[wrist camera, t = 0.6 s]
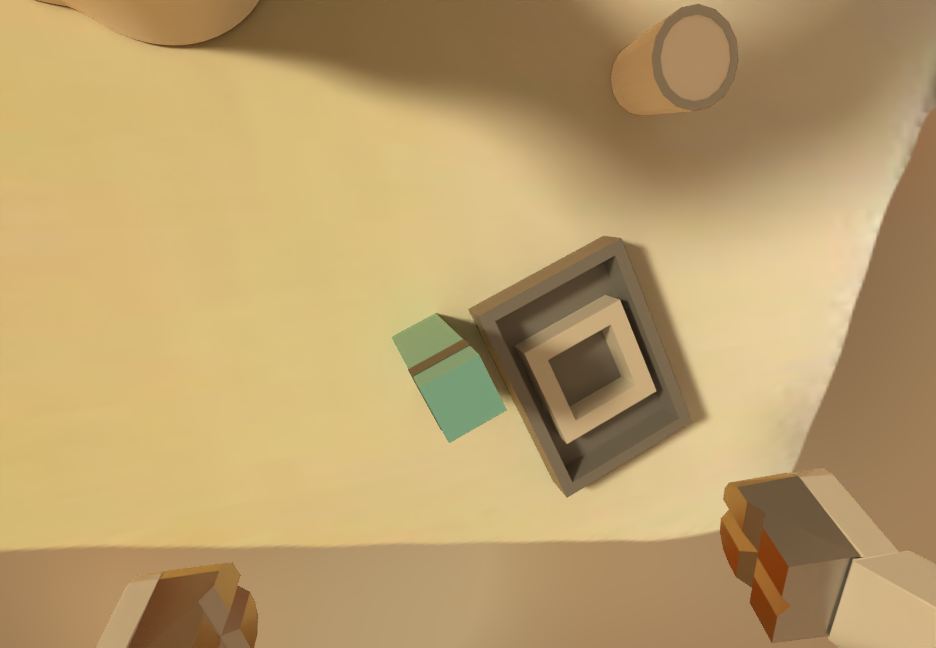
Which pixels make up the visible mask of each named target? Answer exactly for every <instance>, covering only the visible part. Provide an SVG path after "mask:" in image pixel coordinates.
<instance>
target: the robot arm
mask: <svg viewBox="0 0 936 648" xmlns="http://www.w3.org/2000/svg"><path fill="white" fill-rule="evenodd" d="M38 1H42V2H47V3H52V4H57V5H63V6H69V7H71V8H73V9H76V10H78V11H80V12H81V13H83V14H85V15H87V16H88V17H90V18H92V19H93V20H95V21H97V22H98V23H100V24H102V25H104V26H105V27H107V28H109V29H111V30H113V31H115V32H117V33H120V34H122V35H124V36H127V37H130V38H133V39H136V40H139V41H143V42H148V43H153V44H160V45H187V44H194V43H199V42H203V41H206V40H209V39H212V38H215V37H217V36H219V35H221V34H223V33H225V32H227V31H229V30H230V29H232V28H233V27H235V26H236V25H237V24H239V23H240V22H241V21H242V20H243V19H244V18H245V17H246V16H247V15H248V14H249V13H250V12H251V11H252V10H253V9H254V7H255V6H256V5H257V3H258V2H259V0H38ZM723 500H724V501H725V503H726V505H727V506H728V508H729V510H728V511H727V512H726V514H725V515H724V516H723V517H722V518H721V526H720V535H721V540H722V545H723V550H724V552H725V555H726V557H727V560H728V563H729V565H730V567H731V568H732V570H733V572H734V574H735V576H736V577H737V578H738V579H740V580H741V581H743V582H745V583H746V584H747V585H749V586H750V587H752V591H751V598H750V604H751V606H752V608H753V610H754V611H755V613H756V615H757V617H758V619H759V621H760V622H761V624H762V626H763V628H764V630H765V631H766V633H767V635H768V637H769V639H770V641H771V642H772V643H777V642H785V641H792V640H800V639H809V638H817V637H824V636H829V638H828V639H829V640H830V641H831V642H832V643H834V644H835V645H836V646H838V647H839V648H936V564H935V563H933V562H931V561H929V560H927V559H925V558H923V557H921V556H919V555H918V554H916V553H913V552H912V551H902V552H899V550H898V549H897V548H896V547H895V546H894V545H893V543H891V541H890V540H889V539H888V538H887V536H886V535H885V534H884V533H883V532H882V531H881V530H880V528H879V527H878V526H877V525H876V524H875V523H874V522H873V520H872V519H871V518H870V517H869V516H868V515H867V513H866V512H865V511H864V510H863V509H862V508H861V507H860V505H858V503H857V502H856V501H855V500H854V499H853V497H852V496H851V495H850V494H849V493H848V492H847V490H846V489H845V488H844V487H843V486H842V485H841V484H840V482H839V481H838V480H837V479H836V478H835V477H834V476H833V474H832V473H831V472H829V471H828V470H826V469H824V468H818V469H812V470H805V471H799V472H793V473H783V474H777V475H771V476H765V477H760V478H754V479H748V480H742V481H736V482H730V483H728V485H727V486H726V487H725V491H724V498H723ZM240 576H241V575H240V573H239V572H238V570H237V569H236V567H235V565H234V564H233V563H223V564H214V565H207V566H199V567H191V568H183V569H176V570H168V571H162V572H155V573H148V574H141V575H137V576H136V577H135V578H134V579H133V580H131V581H130V582H129V583H128V585H127V586H126V588H125V590H124V592H123V594H122V596H121V598H120V600H119V602H118V605H117V606H116V608H115V610H114V612H113V614H112V616H111V618H110V620H109V622H108V624H107V626H106V628H105V630H104V632H103V634H102V636H101V638H100V640H99V642H98V644H97V646H96V648H254V645H255V641H256V637H257V625H258V613H257V609H256V604H255V601H254V599H253V597H252V595H251V593H250V592H249V591H247V590H245V589H243V588H241V587H239V586H238V583H239V579H240Z"/></svg>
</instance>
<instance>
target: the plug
mask: <svg viewBox="0 0 936 648" xmlns="http://www.w3.org/2000/svg"><path fill="white" fill-rule="evenodd" d="M392 339H393V341H394V343H395V345H396V346H397V348H398V350H399V352H400V354H401V356H402V358H403V359H404V361H405V363H406V365H407V367H408V370H409V372H410V374H411V376H412V378H413V380H414V382H415V383H416V385H417V387H418V389H419V391H420V393H421V394H422V396H423V398H424V400H425V402H426V403H427V405H428V407H429V409H430V411H431V413H432V414H433V416H434V418H435V420H436V422H437V424H438V425H439V427H440V429H441V430H442V431H443V433H444V435H445V437H446V439H447V440H448V442H449V443H450V442H452V441H454V440H455V439H457V438H459V437H461V436H462V435H464V434H466V433H468V432H469V431H471V430H473V429H475V428H476V427H478V426H480V425H482V424H483V423H485V422H487V421H489V420H490V419H492V418H494V417H495V416H497V415H499V414H501V413H502V412H504V411H506V410H507V409H506V407H505V405H504V403H503V401H502V399H501V397H500V395H499V393H498V391H497V389H496V387H495V385H494V383H493V381H492V379H491V377H490V375H489V373H488V371H487V369H486V367H485V365H484V363H483V361H482V359H481V357H480V355H479V354H478V353H477V352H476V351H475V350H474V349H473V348H472V347H471V345H470V344H469V343H468V342H467V341H466V340H465V339H462V338H461V337H460V336H459V335H458V334H457V333H456V332H455V331H454V330H453V329H452V328H451V327H450V326H449V325H448V324H447V323H446V322H445V321H443V320H442V319H441V318H440V317H439V316H438V315H437V314H436V313H435V314H434V315H432V316H430V317H428V318H426V319H424V320H423V321H421V322H419V323H417V324H415V325H413V326H411V327H410V328H408V329H406V330H404V331H402V332H400V333H398V334H397V335H395V336H393V337H392Z"/></svg>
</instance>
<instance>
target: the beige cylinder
mask: <svg viewBox="0 0 936 648" xmlns="http://www.w3.org/2000/svg"><path fill="white" fill-rule="evenodd" d="M737 63H738V51H737V40H736V38H735V35H734V33H733V31H732V29H731V27H730V24H729V22H728V21H727V20H726V19H725V18H724V17H723V16H722V15H721V14H720V13H719V12H717V11H716V10H715V9H713V8H709V7H706V6H703V5H700V4H697V5H692V6H686V7H681V8H680V9H678V10H677V11H676V12H674V13H673V14H672V15H670V16H669V17H667V18H666V19H665V20H663V21H662V22H660V23H659V24H658V25H656V26H655V27H653V28H652V29H651V30H649V31H648V32H646V33H645V34H644V35H642V36H641V37H640V38H638V39H637V40H635V41H634V42H633V43H631V44H630V45H629V46H627V47H626V48H625V49H623V50H622V51H621V52H620V53H619V55H618V57H617V58H616V60H615V62H614V63H613V69H612V74H611V84H612V90H613V94H614V96H615V97H616V99H617V101H618V103H619V105H620V106H622V107H623V108H624V109H625V110H627V111H628V112H629V113H633V114H637V115H641V116H642V115H654V114H665V113H677V112H688V111H695V110H700V109H704V108H708V107H710V106H712V105H713V104H714V103H716V102H717V101H718V100H720V99H721V98H722V97H723V96H724V95H725V93H726V92H727V90H728V88H729V87H730V85H731V83H732V82H733V80H734V77H735V72H736V68H737Z"/></svg>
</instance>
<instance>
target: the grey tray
mask: <svg viewBox="0 0 936 648" xmlns="http://www.w3.org/2000/svg"><path fill="white" fill-rule="evenodd" d="M469 311H470V313H471V315H472V317H473V319H474V322H475V324H476V326H477V328H478V330H479V332H480V334H481V336H482V338H483V340H484V342H485V344H486V346H487V348H488V350H489V352H490V354H491V356H492V358H493V360H494V362H495V364H496V366H497V368H498V370H499V372H500V374H501V376H502V378H503V380H504V382H505V384H506V386H507V388H508V390H509V393H510V395H511V397H512V399H513V401H514V403H515V405H516V407H517V409H518V411H519V413H520V415H521V417H522V419H523V421H524V423H525V425H526V427H527V429H528V431H529V433H530V435H531V437H532V439H533V441H534V443H535V445H536V447H537V449H538V451H539V453H540V455H541V457H542V459H543V461H544V463H545V466H546V468H547V470H548V472H549V474H550V476H551V478H552V480H553V482H554V483H555V484H556V485H557V486H558V488H559V489H560V490H561V491H562V492H563V494H564V495H565V496H566V497H569V496H571V495H572V494H574V493H575V492H577V491H579V490H580V489H582V488H584V487H585V486H587V485H589V484H590V483H592V482H594V481H595V480H597V479H599V478H600V477H602V476H604V475H605V474H607V473H609V472H610V471H612V470H613V469H615V468H617V467H618V466H620V465H622V464H623V463H625V462H627V461H628V460H630V459H632V458H633V457H635V456H637V455H638V454H640V453H642V452H643V451H645V450H646V449H648V448H650V447H651V446H653V445H655V444H656V443H658V442H660V441H661V440H663V439H665V438H666V437H668V436H670V435H671V434H673V433H675V432H676V431H678V430H679V429H681V428H683V427H684V426H686V425H688V424H689V423H691V422H692V420H691V418H690V415H689V412H688V410H687V407H686V405H685V402H684V400H683V397H682V394H681V392H680V389H679V387H678V384H677V381H676V379H675V376H674V374H673V371H672V368H671V366H670V363H669V361H668V358H667V355H666V353H665V350H664V348H663V345H662V342H661V340H660V337H659V335H658V332H657V329H656V327H655V324H654V322H653V319H652V316H651V314H650V311H649V309H648V306H647V304H646V301H645V298H644V296H643V293H642V291H641V288H640V285H639V283H638V280H637V278H636V275H635V272H634V270H633V267H632V265H631V262H630V259H629V257H628V254H627V252H626V249H625V246H624V244H623V241H622V239H621V238H616V237H608V236H602V237H601V238H599V239H597V240H595V241H593V242H591V243H590V244H588V245H586V246H584V247H582V248H580V249H579V250H577V251H575V252H573V253H571V254H569V255H567V256H566V257H564V258H562V259H560V260H558V261H556V262H555V263H553V264H551V265H549V266H547V267H545V268H544V269H542V270H540V271H538V272H536V273H534V274H533V275H531V276H529V277H527V278H525V279H523V280H522V281H520V282H518V283H516V284H514V285H512V286H510V287H509V288H507V289H505V290H503V291H501V292H499V293H498V294H496V295H494V296H492V297H490V298H488V299H487V300H485V301H483V302H481V303H479V304H477V305H476V306H474V307H472V308H470V309H469Z"/></svg>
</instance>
